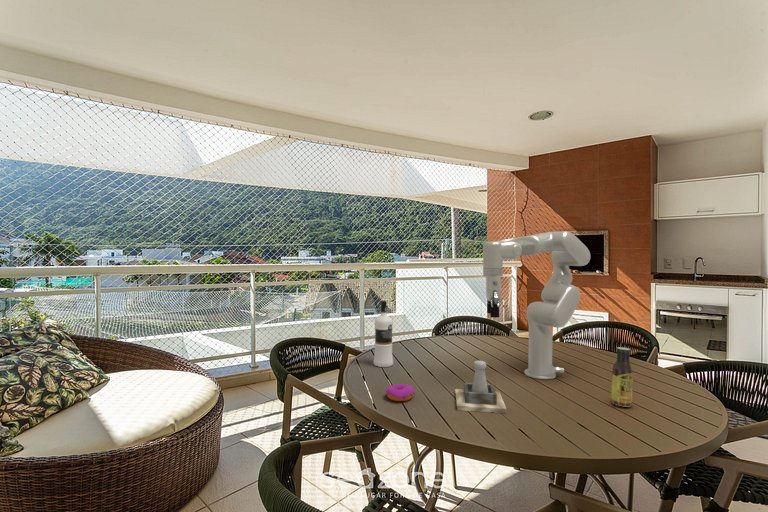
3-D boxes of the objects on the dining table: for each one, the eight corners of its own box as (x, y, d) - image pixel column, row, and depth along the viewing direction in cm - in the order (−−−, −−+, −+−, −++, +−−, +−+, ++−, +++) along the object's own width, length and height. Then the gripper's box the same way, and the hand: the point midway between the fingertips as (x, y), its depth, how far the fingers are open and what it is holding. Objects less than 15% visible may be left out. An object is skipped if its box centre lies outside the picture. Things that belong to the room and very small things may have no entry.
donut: (404, 391, 147) (404, 379, 147) (420, 400, 138) (420, 387, 138) (380, 396, 142) (380, 384, 142) (395, 406, 133) (396, 392, 133)
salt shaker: (475, 393, 140) (476, 358, 140) (490, 397, 137) (491, 361, 137) (468, 398, 136) (468, 361, 136) (483, 402, 132) (484, 364, 132)
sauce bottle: (621, 409, 131) (622, 351, 131) (606, 402, 137) (607, 346, 137) (637, 407, 133) (638, 350, 132) (621, 401, 139) (622, 345, 139)
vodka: (383, 360, 187) (384, 299, 187) (397, 365, 180) (397, 300, 180) (369, 364, 181) (369, 300, 180) (383, 369, 174) (383, 302, 174)
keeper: (499, 395, 143) (499, 382, 143) (506, 413, 127) (506, 398, 127) (455, 393, 145) (455, 379, 145) (457, 410, 129) (457, 395, 129)
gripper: (506, 273, 146) (506, 319, 146) (499, 271, 163) (499, 311, 163) (485, 274, 147) (486, 319, 147) (480, 271, 164) (480, 311, 164)
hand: (493, 315), depth 155 cm, fingers open, 9 cm apart
